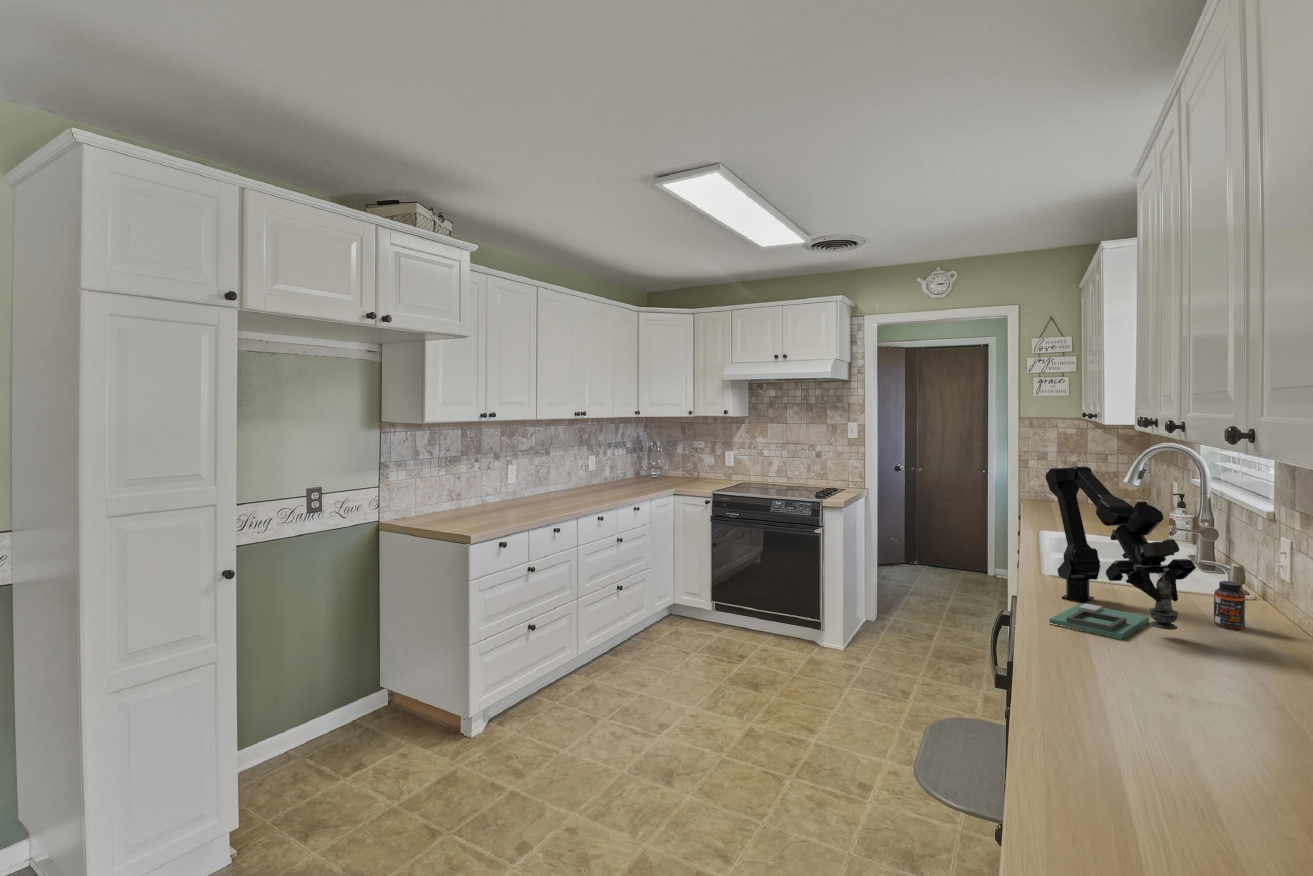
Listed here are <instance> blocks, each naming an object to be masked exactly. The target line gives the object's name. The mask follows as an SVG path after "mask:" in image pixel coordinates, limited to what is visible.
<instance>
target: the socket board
mask: <svg viewBox="0 0 1313 876" xmlns="http://www.w3.org/2000/svg"><path fill="white" fill-rule="evenodd" d="M1048 622H1050V623H1053V624H1058V625H1063V626H1065V627H1070V628H1074V629H1078V630H1082V631H1086V632H1085V633H1087V632H1090V633H1089V634H1092V633H1094V634H1093V635H1096V634H1098V635H1097V636H1101V635H1102V636H1101V637H1106V638H1110V639H1115V640H1121V641H1122V640H1124V639H1125V638H1127V637H1129V636H1131V635H1132V634H1133V633H1134V632H1136V631H1138V630H1140V629H1141V628H1142V627H1144V626H1145V625H1147V624H1150V616H1147V615H1143V614H1136V613H1131V612H1126V611H1123V610H1122V611H1121V610H1116V609H1112V608H1111V609H1110V608H1105V607H1103V606H1102V605H1096V604H1092V603H1088V602H1087V603H1084V604H1083V603H1078V604H1076V605H1074V606H1071V608H1068V609H1066V610H1064V611H1062V612H1060V613H1058V614H1056V615H1054V616H1052V617H1050V618H1049V621H1048ZM1078 630H1077V631H1078ZM1082 631H1081V632H1082ZM1131 633H1132V634H1131ZM1128 635H1129V636H1128Z"/></svg>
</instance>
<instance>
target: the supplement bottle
mask: <svg viewBox="0 0 1313 876" xmlns="http://www.w3.org/2000/svg"><path fill="white" fill-rule="evenodd" d="M1213 623H1214V625H1215V626H1216V627H1219V628H1222V629H1225V628H1226V629H1225V630H1231V629H1234V630H1235V631H1240V630H1241V629H1242V630H1244V629H1245V628H1246V594H1245V593H1244V592H1243V591H1241V584H1240V583H1239V582H1236V581H1230V580H1220V581H1219V583H1218V588H1216V589H1215V590H1214V592H1213ZM1234 630H1233V631H1234Z"/></svg>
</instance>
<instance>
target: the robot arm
mask: <svg viewBox="0 0 1313 876" xmlns="http://www.w3.org/2000/svg"><path fill="white" fill-rule="evenodd" d="M1045 480H1046V482H1047V486H1048V488H1049V491H1050V492H1051V493H1052V495H1054V496H1055V497H1056V499H1057V502H1058V507H1059V511H1060V518H1061V521H1062V525H1063V530H1064V534H1065V540H1066V544H1067V546H1066V547H1065V548H1066V549H1065V551H1064V552H1063V555H1062V556H1063V562H1062V563H1061V564H1060V566H1059V567H1058V568H1057V575H1058V577H1059V578H1062V579H1064V580H1065V585H1066V587H1065V589H1066V590H1065V593H1066V594H1064V595H1062V596H1061V599H1062V600H1063V599H1064V600H1068V601H1074V602H1080V603H1084V602H1085V603H1087V604H1088V602H1091V601H1093V600H1094V599H1095V597H1094V596H1090V580H1095V581H1096V580H1098V579H1099V578H1098V577H1099V574H1100V570H1101V561H1100V558H1099V553H1098V550H1097V549H1096V548H1093V547H1091V546H1090V545H1089V544H1088V542H1087V536H1086V531H1085V528H1084V524H1083V518H1082V514H1081V509H1080V505H1079V501H1078V497H1077V496H1078V493H1079V491H1080V490H1081V491H1082V492H1083V493H1084V494H1085V495H1086V496H1087V498H1088V499H1089V500H1090V501H1091V503H1092V504H1093V505H1094V506H1095V507H1096V508H1095V515H1096V516H1097V518H1098V519H1099V520H1100V522H1101V523H1102V524H1103V526H1106V527H1107V526H1108V527H1110V526H1111V527H1113V526H1115V527H1116V526H1117V527H1116V528H1115V529H1113V530H1112V533H1111V535H1110V541H1118V543H1119V545H1120V547H1121V548H1122V551H1123V554H1122V557H1123V559H1124V560H1121V559H1119V560H1117V559H1116V560H1114V561H1113V562H1112V563H1111V564H1110V565H1109V566H1108V568H1106V570H1105V575H1106V577H1107V580H1109V581H1110V582H1121V581H1122V580H1123V578H1124V575H1126V577H1127V579H1126V580H1125V582H1126V584H1131V585H1132V586H1134V587H1135V588H1137V589H1139V590H1140V591H1141V592H1143V593H1144V594H1145V595H1148V596H1149V597H1150V598H1152V599H1153V600H1154V601H1155V602H1156V601H1157V602H1160V601H1161V597H1160V595H1159V593H1158V591H1157V590H1156V587H1155V584H1154V582H1153V581H1152V579H1151V575H1150V574H1157V576H1158V577H1159V578H1158V580H1156V583H1157V582H1158V581H1161V580H1163V579H1162V578H1163V577H1164V578H1165V581H1167V582H1169V583H1170V584H1171V596H1173V598H1172V599H1171V601H1173V602H1178V600H1179V597H1178V588H1177V580H1179V581H1181V580H1184V579H1186V578H1187V577H1188V576H1189V575H1190V574H1191V573H1193V572H1194V571H1195V570H1196V569H1197V566H1196V565H1195V564H1194V561H1192V559H1189V558H1181V559H1180V558H1176V559H1175V558H1174V559H1172V560H1171V561H1170V562H1169V563H1168V564H1162V563H1165V561H1167V559H1166V557H1169V556H1175V554H1176V553H1178V552H1179V551H1180V547H1179V544H1178V543H1177V541H1175V539H1174V538H1172V539H1171V538H1170V539H1166V540H1162V541H1152V542H1149V541H1148V539H1147V537H1145V536H1148V535H1151V533H1152V532H1153V531H1154V530H1155V529H1156V528H1157V527H1158V526H1159V525H1160V524H1161V522H1162V521H1163V520H1164V514H1163V513H1162V511H1161V510H1159V509H1158V508H1157V507H1154V506H1152V505H1149V504H1148V503H1147V501H1137V502H1136V503H1135V504H1134V507H1133V506H1132V505H1131V504H1129V503H1128V502H1127V501H1126V500H1124V499H1123V498H1119V497H1117V496H1115V495H1113V493H1111V491H1109V490H1108V488H1106V487H1105V485H1104V484H1103V483H1102V482H1101V481H1100V480H1099V479H1098V478H1097V477H1096V476H1095V475H1094V473H1093V471H1092V469H1091V467H1090V466H1083V465H1082V466H1071V467H1052V468H1049V470H1048V471H1047V472H1046V474H1045ZM1085 603H1084V604H1085Z"/></svg>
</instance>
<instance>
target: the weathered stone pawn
mask: <svg viewBox="0 0 1313 876" xmlns="http://www.w3.org/2000/svg"><path fill="white" fill-rule="evenodd" d="M1162 579H1163V580H1161V581H1158V580H1157V581H1158V582H1157V581H1156V583H1155V585H1156V587H1155V588H1156V590H1157V591H1158V593H1159V595H1160V597H1161V601H1160V602H1157V601H1156V600H1155V605H1154V607H1150V608H1148V609H1147V610H1148V612H1149V614H1150V617H1151V618H1152V619H1153V620H1154V621H1152V622H1149V625H1150V626H1151V627H1153V628H1156V629H1159V630H1167V631H1169V630H1171V631H1173V630H1174V631H1175V630H1177V629H1178V626H1176V625H1175V624H1174V623H1175V622H1176V621H1177V619H1178V616H1179V615H1180V613H1179V612H1178V611H1176V610H1174V609H1173V606H1172V598H1173V596H1171V584H1170V583H1169V582H1167V581H1165V578H1164V577H1163V578H1162Z"/></svg>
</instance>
